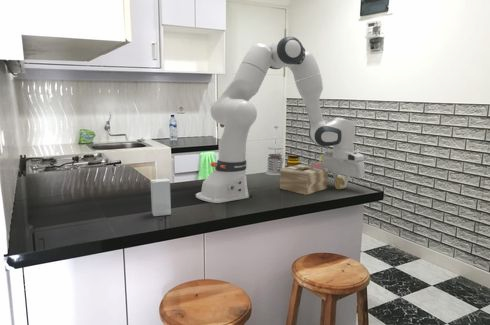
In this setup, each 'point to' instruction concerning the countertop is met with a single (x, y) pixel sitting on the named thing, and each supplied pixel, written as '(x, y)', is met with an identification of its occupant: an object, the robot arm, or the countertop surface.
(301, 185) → the box
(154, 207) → the skincare box
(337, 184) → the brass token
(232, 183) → the robot arm
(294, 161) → the condiment
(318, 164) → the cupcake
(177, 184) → the countertop surface
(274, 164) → the french press
